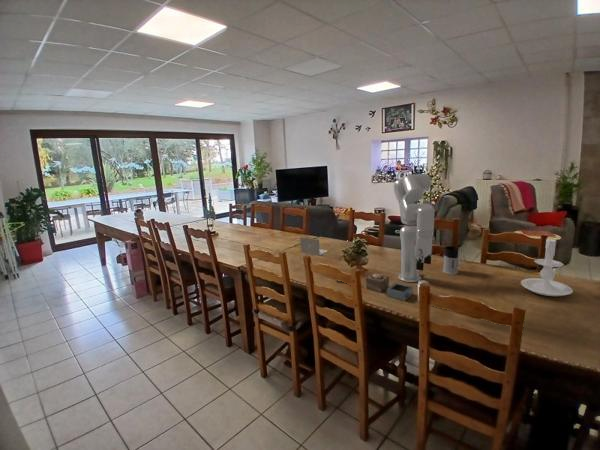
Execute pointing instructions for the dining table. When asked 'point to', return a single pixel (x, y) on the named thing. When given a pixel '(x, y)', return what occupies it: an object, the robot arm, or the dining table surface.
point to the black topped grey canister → (451, 260)
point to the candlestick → (547, 275)
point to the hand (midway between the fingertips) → (423, 266)
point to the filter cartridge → (419, 285)
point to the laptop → (311, 246)
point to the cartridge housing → (400, 291)
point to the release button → (377, 276)
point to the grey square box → (377, 283)
